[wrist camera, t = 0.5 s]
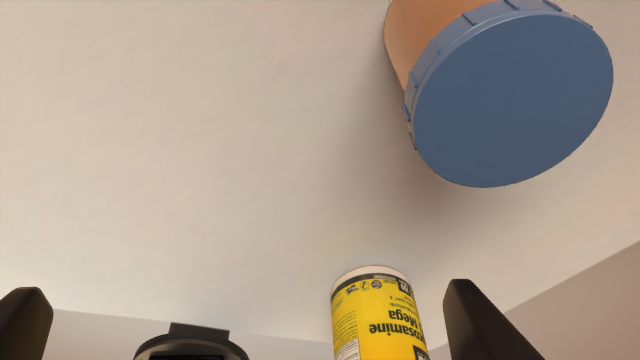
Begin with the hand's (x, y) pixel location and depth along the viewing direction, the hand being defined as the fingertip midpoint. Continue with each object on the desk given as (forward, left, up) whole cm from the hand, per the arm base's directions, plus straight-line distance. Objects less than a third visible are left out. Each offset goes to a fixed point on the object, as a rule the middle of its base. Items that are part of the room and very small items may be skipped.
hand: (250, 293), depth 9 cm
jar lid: (+1, -8, -6) cm, 10 cm away
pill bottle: (-19, -7, -14) cm, 25 cm away
